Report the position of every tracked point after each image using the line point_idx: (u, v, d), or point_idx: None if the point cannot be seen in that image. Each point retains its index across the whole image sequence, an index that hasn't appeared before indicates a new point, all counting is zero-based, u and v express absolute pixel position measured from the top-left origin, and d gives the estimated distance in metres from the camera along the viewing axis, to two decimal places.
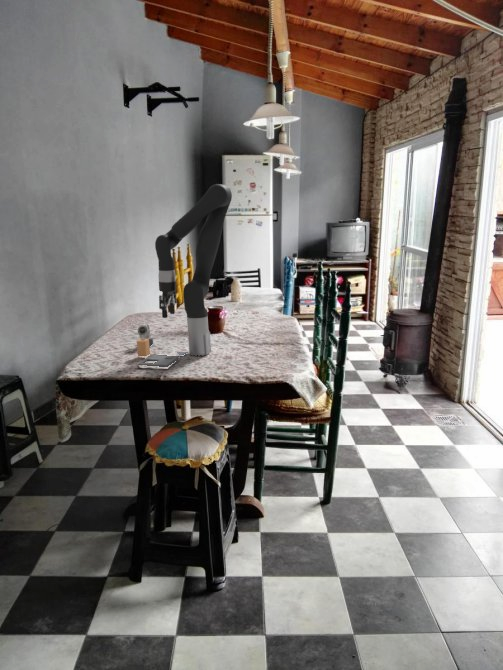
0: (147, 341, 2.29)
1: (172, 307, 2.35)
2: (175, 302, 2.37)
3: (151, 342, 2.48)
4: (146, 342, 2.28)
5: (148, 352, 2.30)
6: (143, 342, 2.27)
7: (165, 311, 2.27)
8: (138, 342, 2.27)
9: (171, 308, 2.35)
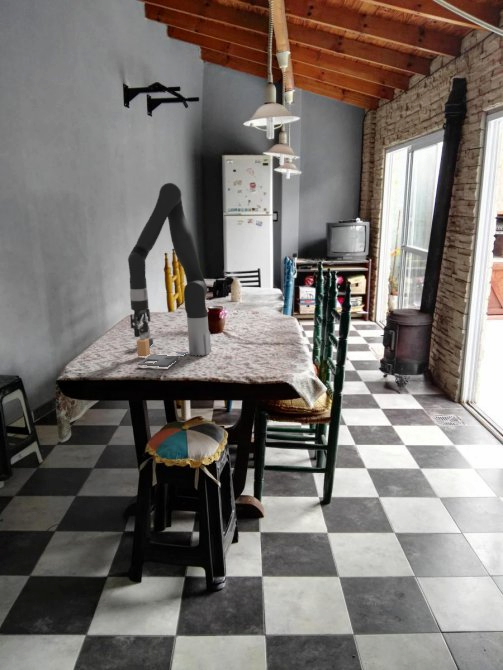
0: (147, 341, 2.29)
1: (145, 325, 2.31)
2: (149, 320, 2.33)
3: (151, 342, 2.48)
4: (146, 342, 2.28)
5: (148, 352, 2.30)
6: (143, 342, 2.27)
7: (137, 330, 2.23)
8: (138, 342, 2.27)
9: (144, 326, 2.32)
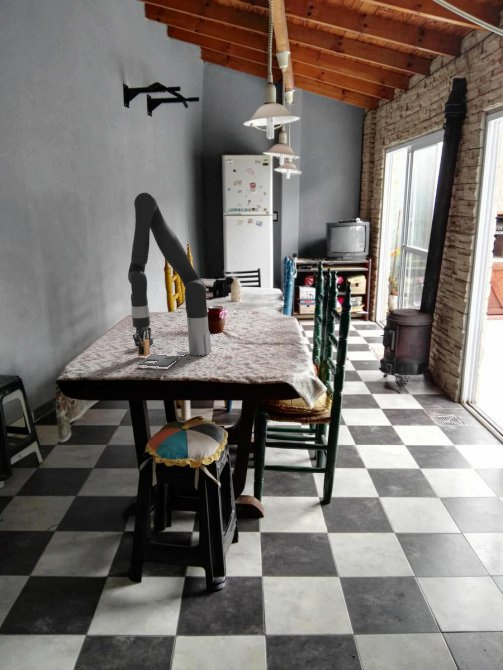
0: (147, 341, 2.29)
1: None
2: (149, 339, 2.33)
3: (151, 342, 2.48)
4: (146, 342, 2.28)
5: (148, 352, 2.30)
6: None
7: (141, 348, 2.27)
8: None
9: None
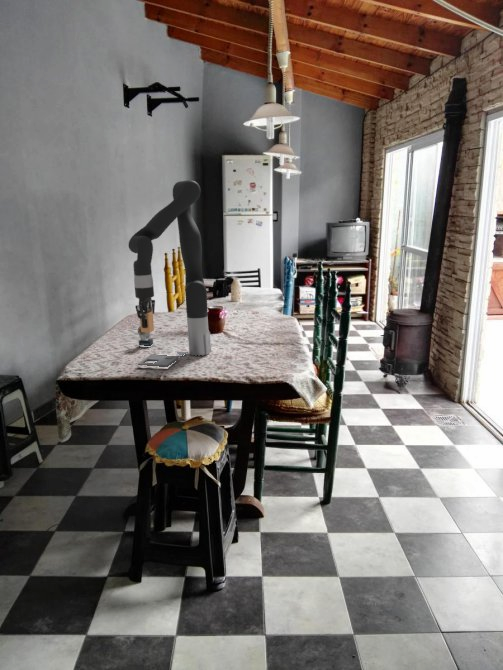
0: (151, 314, 2.13)
1: None
2: None
3: (151, 342, 2.48)
4: (149, 315, 2.11)
5: (152, 326, 2.14)
6: None
7: (145, 321, 2.10)
8: None
9: None
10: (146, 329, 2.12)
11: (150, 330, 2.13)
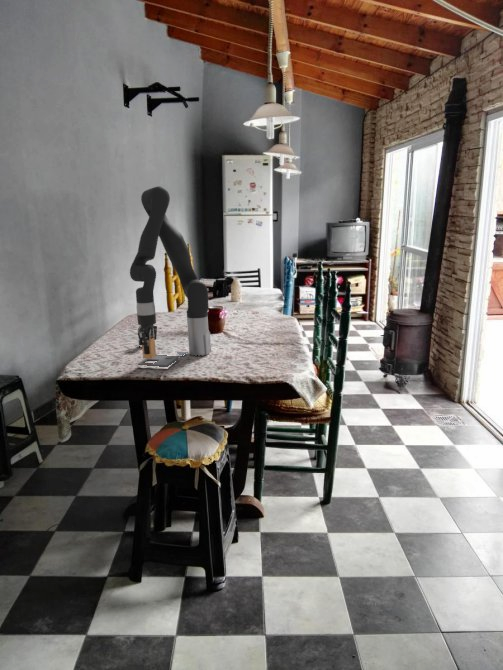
0: (153, 340, 2.15)
1: None
2: None
3: None
4: (151, 341, 2.14)
5: (154, 352, 2.17)
6: None
7: (147, 347, 2.13)
8: None
9: None
10: (148, 355, 2.15)
11: (152, 356, 2.15)
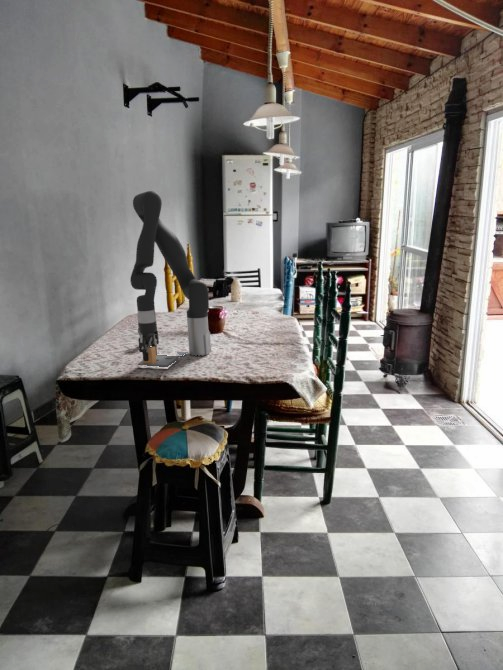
0: (154, 349, 2.16)
1: None
2: (157, 343, 2.21)
3: None
4: (152, 350, 2.15)
5: (155, 360, 2.17)
6: (149, 350, 2.14)
7: (146, 354, 2.12)
8: None
9: None
10: None
11: None
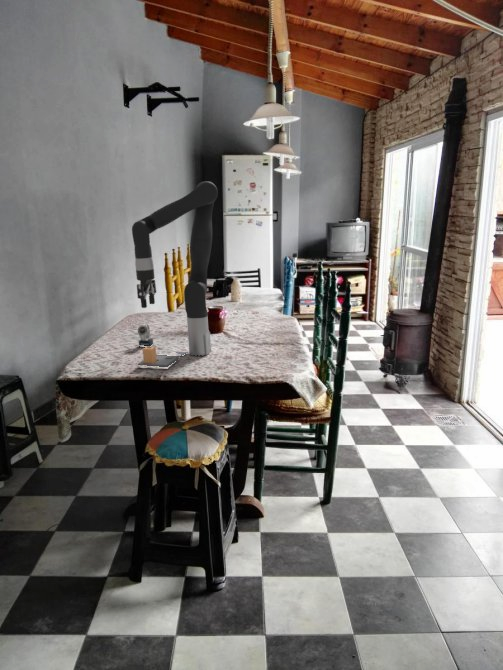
0: (154, 349, 2.16)
1: (152, 297, 2.27)
2: (155, 292, 2.28)
3: (151, 342, 2.48)
4: (152, 350, 2.15)
5: (155, 360, 2.17)
6: (149, 350, 2.14)
7: (144, 300, 2.18)
8: (144, 350, 2.15)
9: (151, 298, 2.27)
10: None
11: None
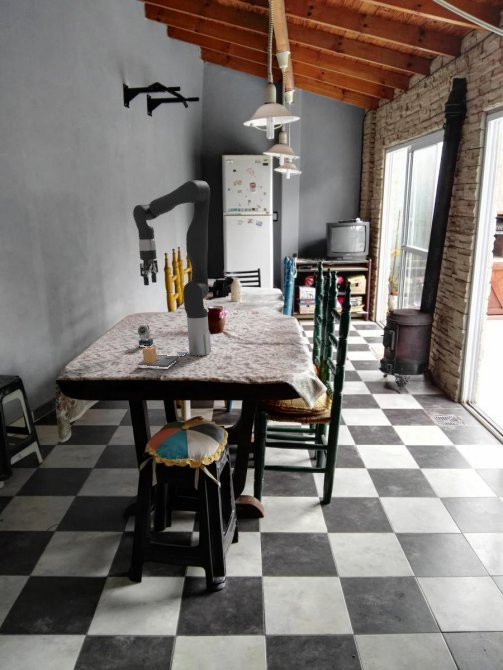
0: (153, 349, 2.16)
1: (154, 276, 2.45)
2: (157, 271, 2.46)
3: (151, 342, 2.48)
4: (152, 350, 2.15)
5: (155, 360, 2.17)
6: (149, 350, 2.14)
7: (146, 278, 2.36)
8: (144, 350, 2.15)
9: (153, 277, 2.45)
10: None
11: None
